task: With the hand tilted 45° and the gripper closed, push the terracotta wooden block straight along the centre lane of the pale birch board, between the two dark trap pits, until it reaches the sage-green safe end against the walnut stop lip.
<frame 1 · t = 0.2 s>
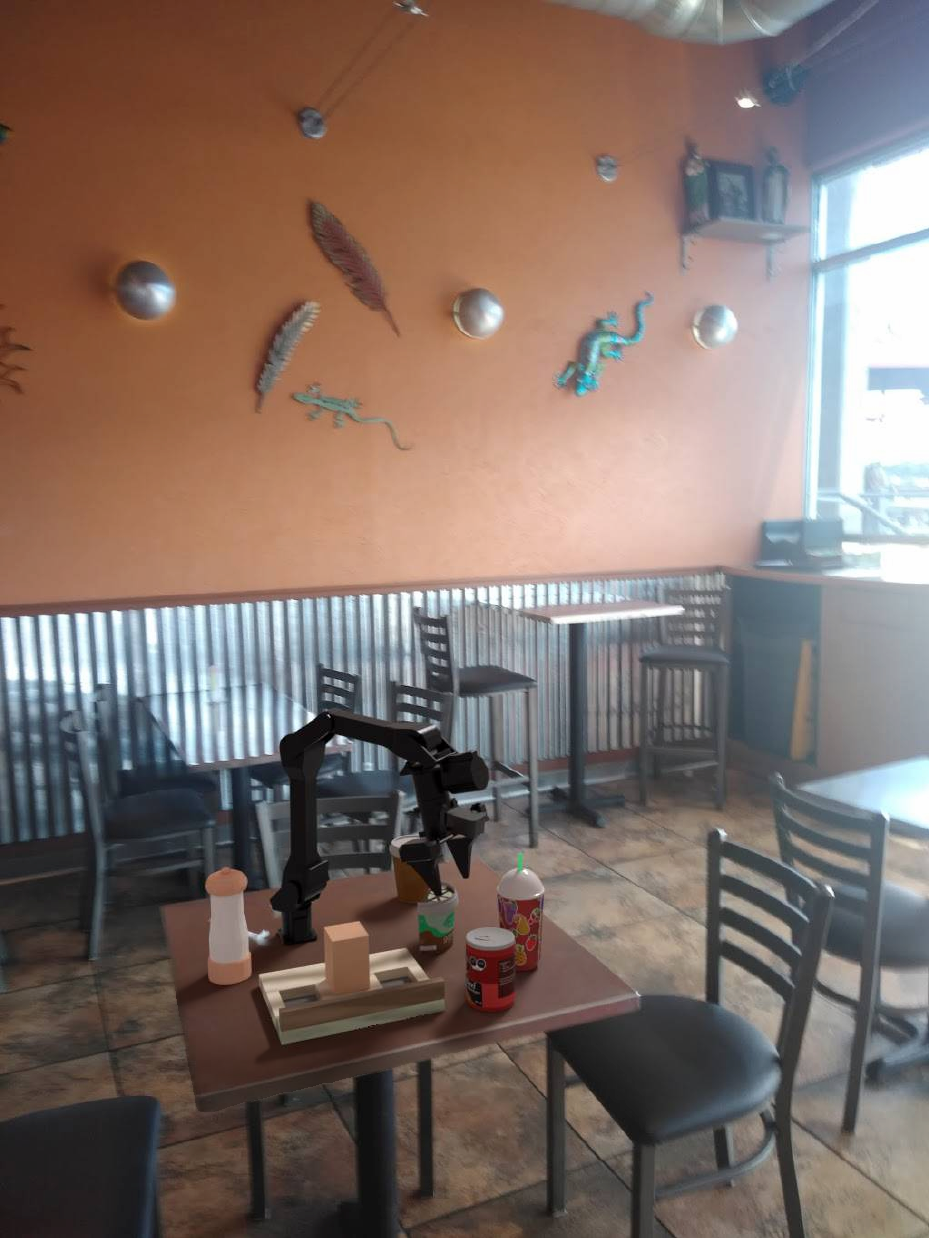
hand: (453, 886, 166), 16 cm above the table, tool pointing down, fingers open, 9 cm apart
smoothie: (521, 965, 171), on the table
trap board: (349, 997, 160), on the table
salt shaker: (230, 976, 168), on the table
disposable coffee cup: (413, 898, 201), on the table
food container: (442, 945, 179), on the table
block: (347, 983, 160), point 2 cm above the table, touching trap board
canned food: (491, 1002, 158), on the table
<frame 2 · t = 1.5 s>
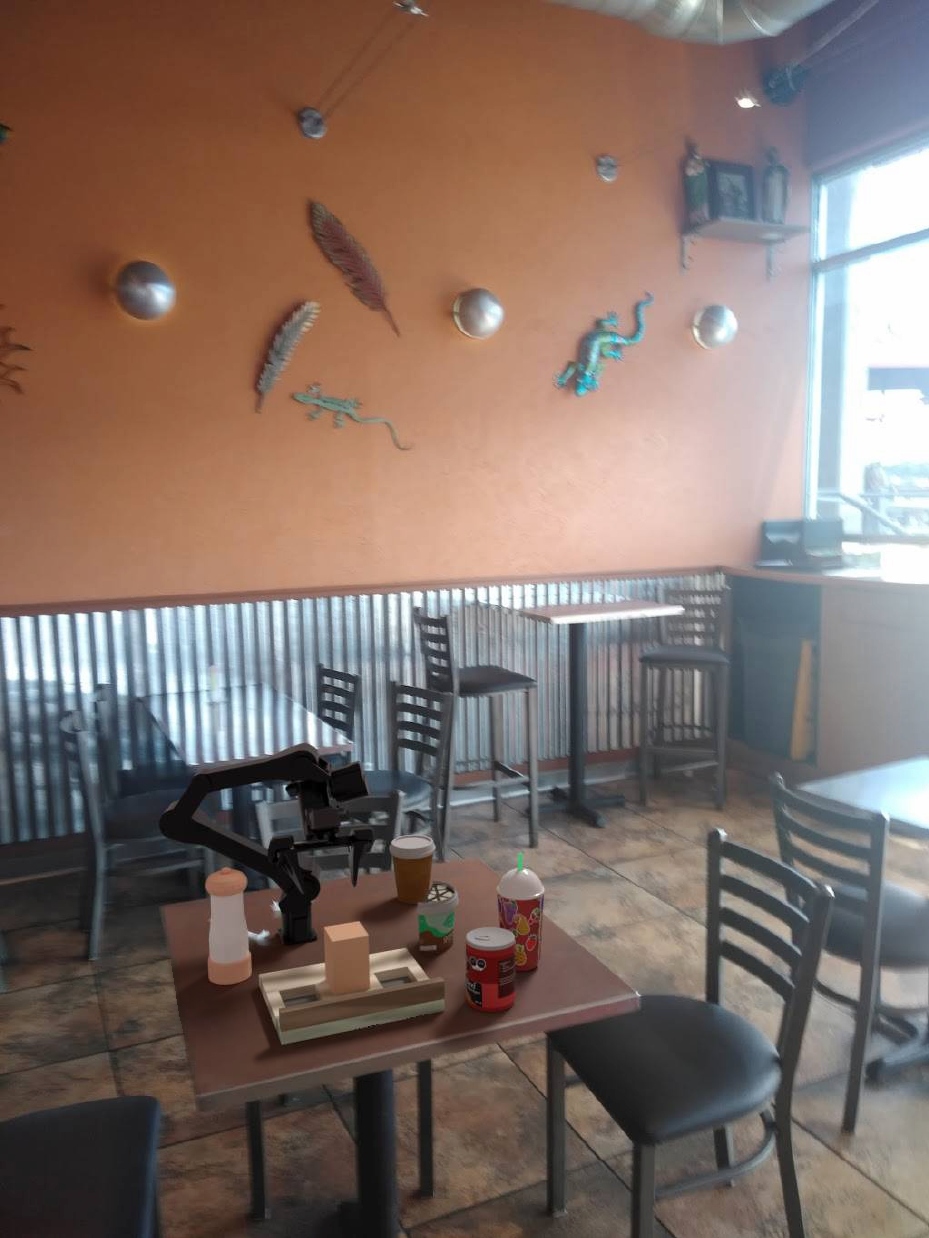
hand: (329, 889, 170), 14 cm above the table, tool tilted 45°, fingers open, 9 cm apart
nothing on the table moved.
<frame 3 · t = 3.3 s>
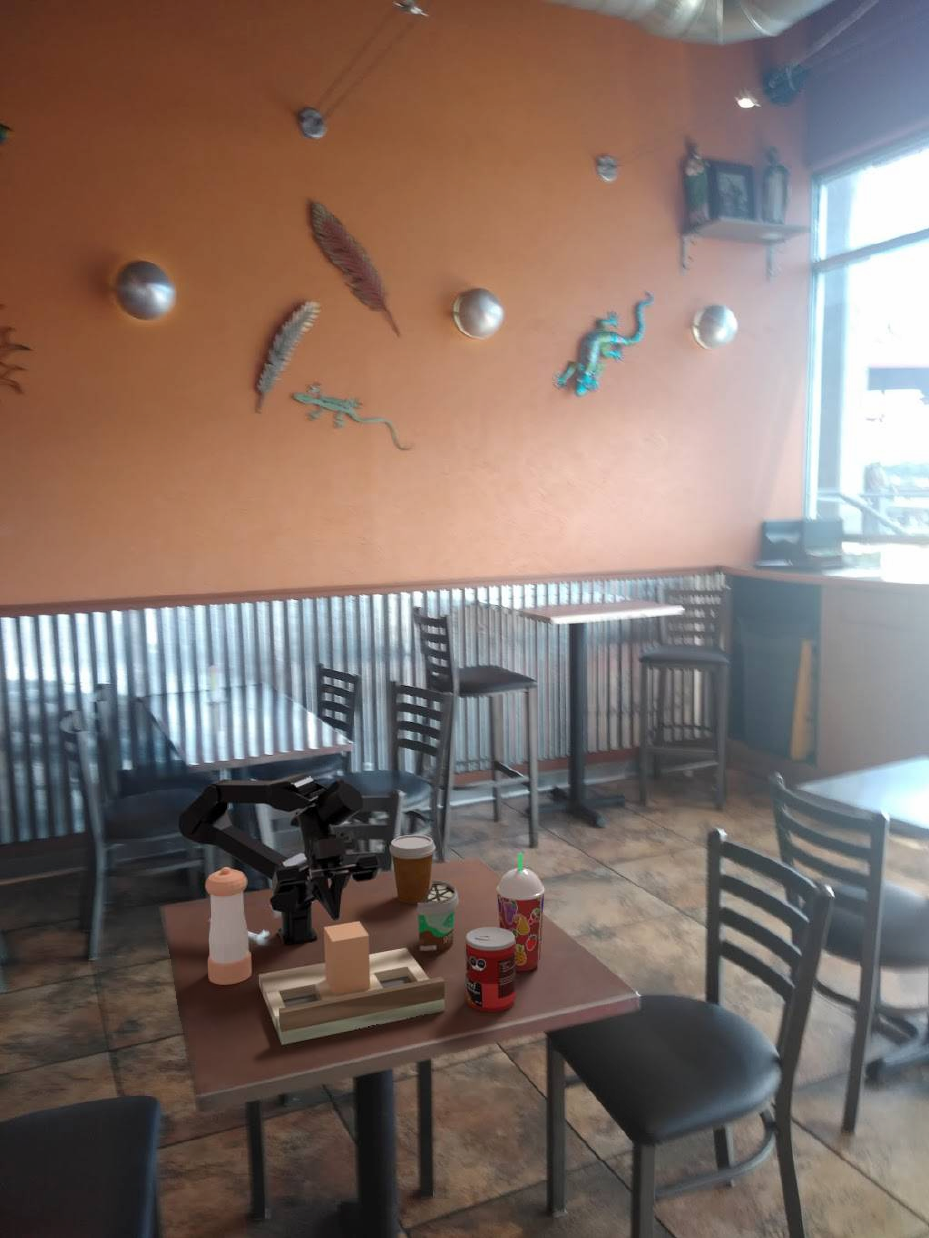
hand: (336, 919, 169), 9 cm above the table, tool tilted 45°, fingers closed
nothing on the table moved.
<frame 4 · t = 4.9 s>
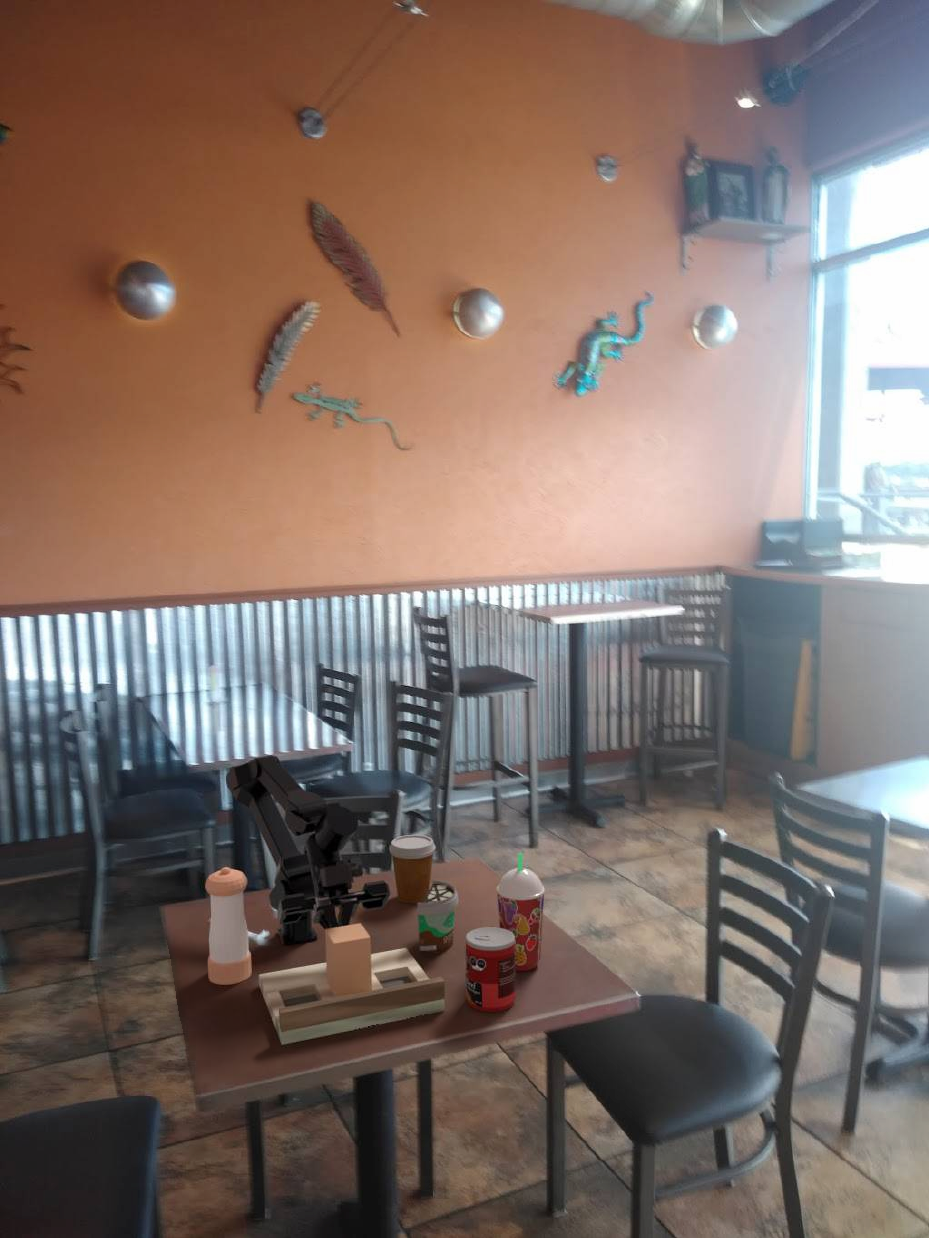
hand: (344, 949, 162), 7 cm above the table, tool tilted 45°, fingers closed, pressing on block
block: (349, 985, 160), point 2 cm above the table, touching gripper
everything else where it was.
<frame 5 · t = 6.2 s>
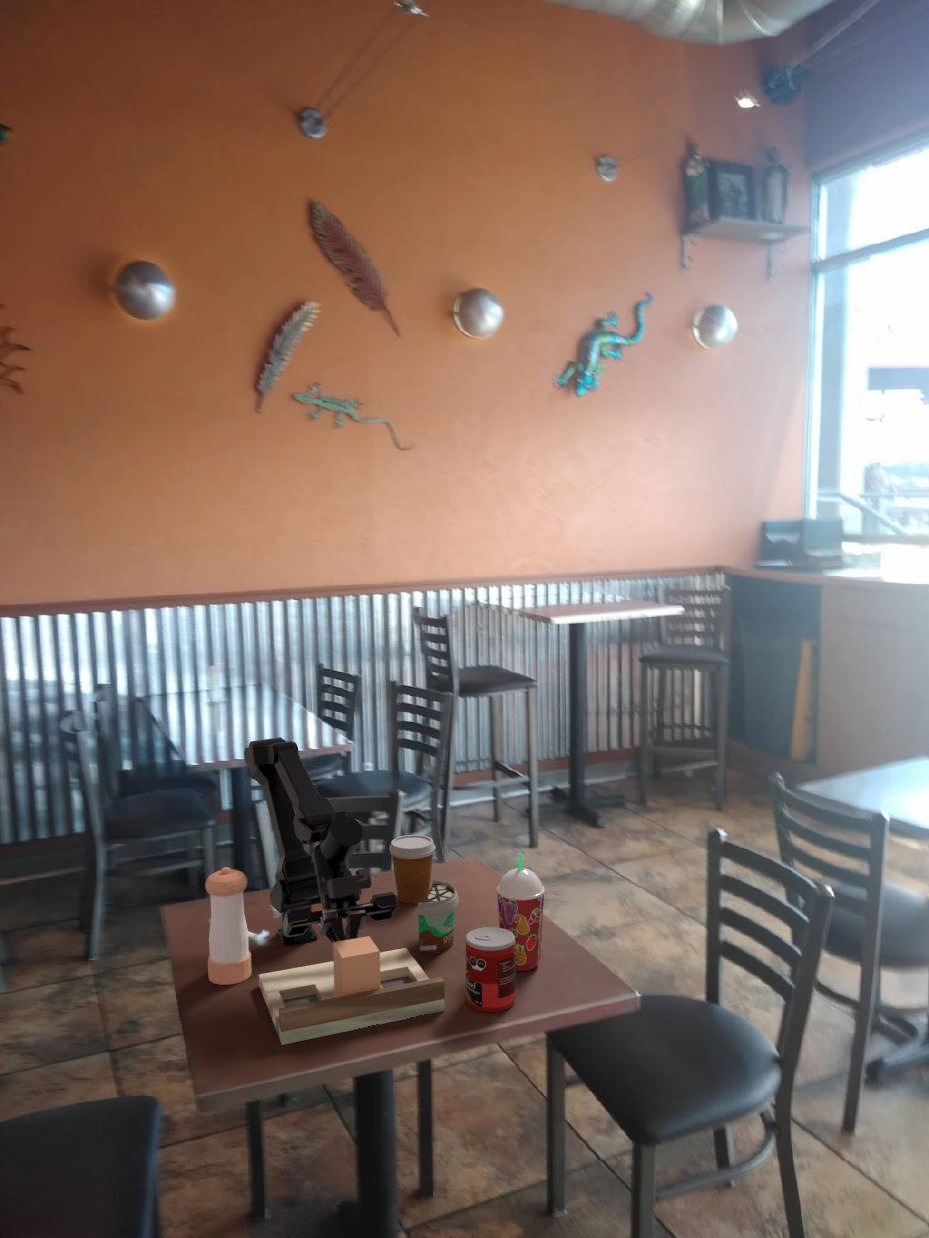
hand: (351, 963, 157), 7 cm above the table, tool tilted 45°, fingers closed, pressing on block
block: (357, 1000, 155), point 2 cm above the table, touching gripper, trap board
everything else where it was.
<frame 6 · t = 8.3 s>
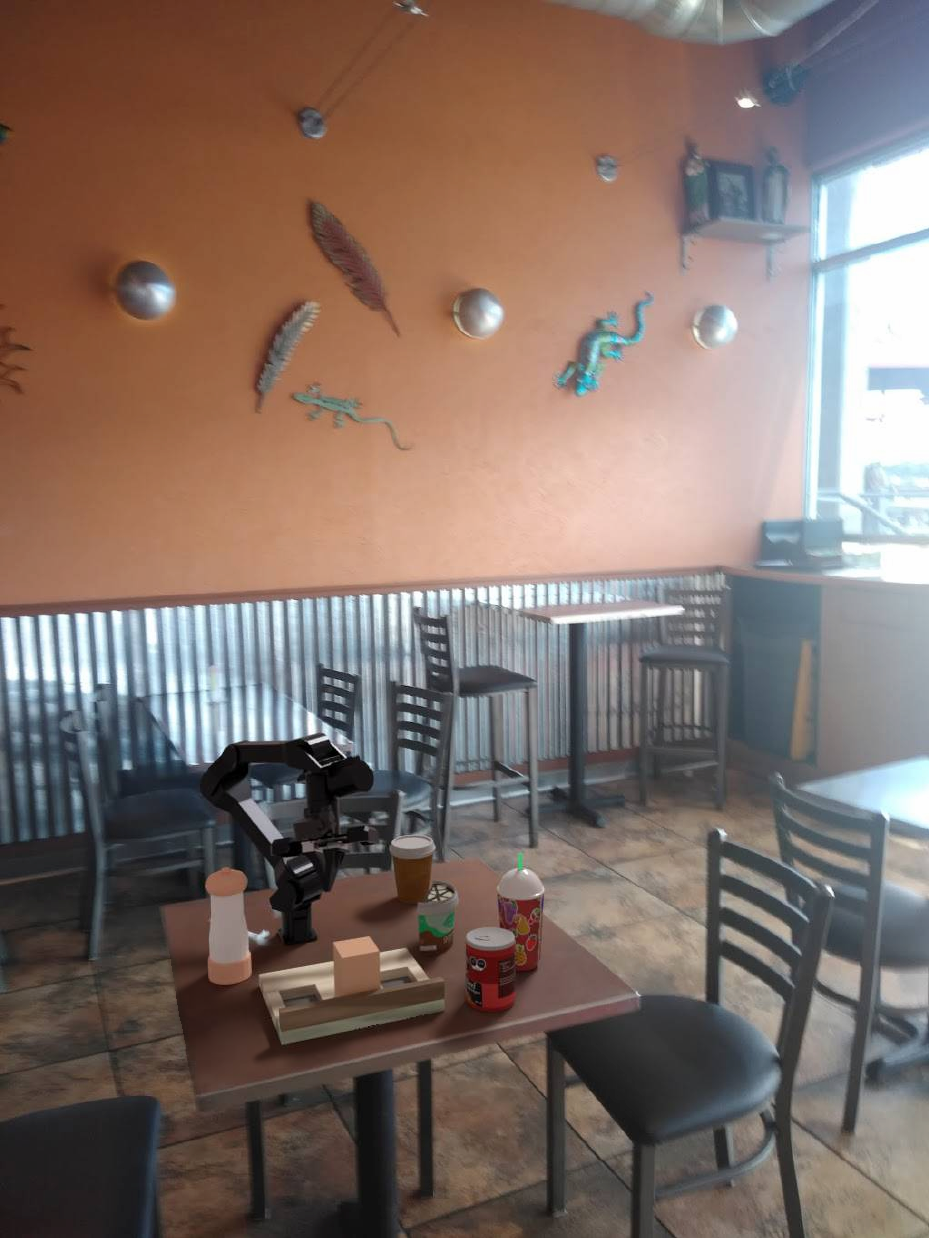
hand: (327, 891, 170), 13 cm above the table, tool tilted 25°, fingers closed
block: (357, 1001, 155), point 2 cm above the table, touching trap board
everything else where it was.
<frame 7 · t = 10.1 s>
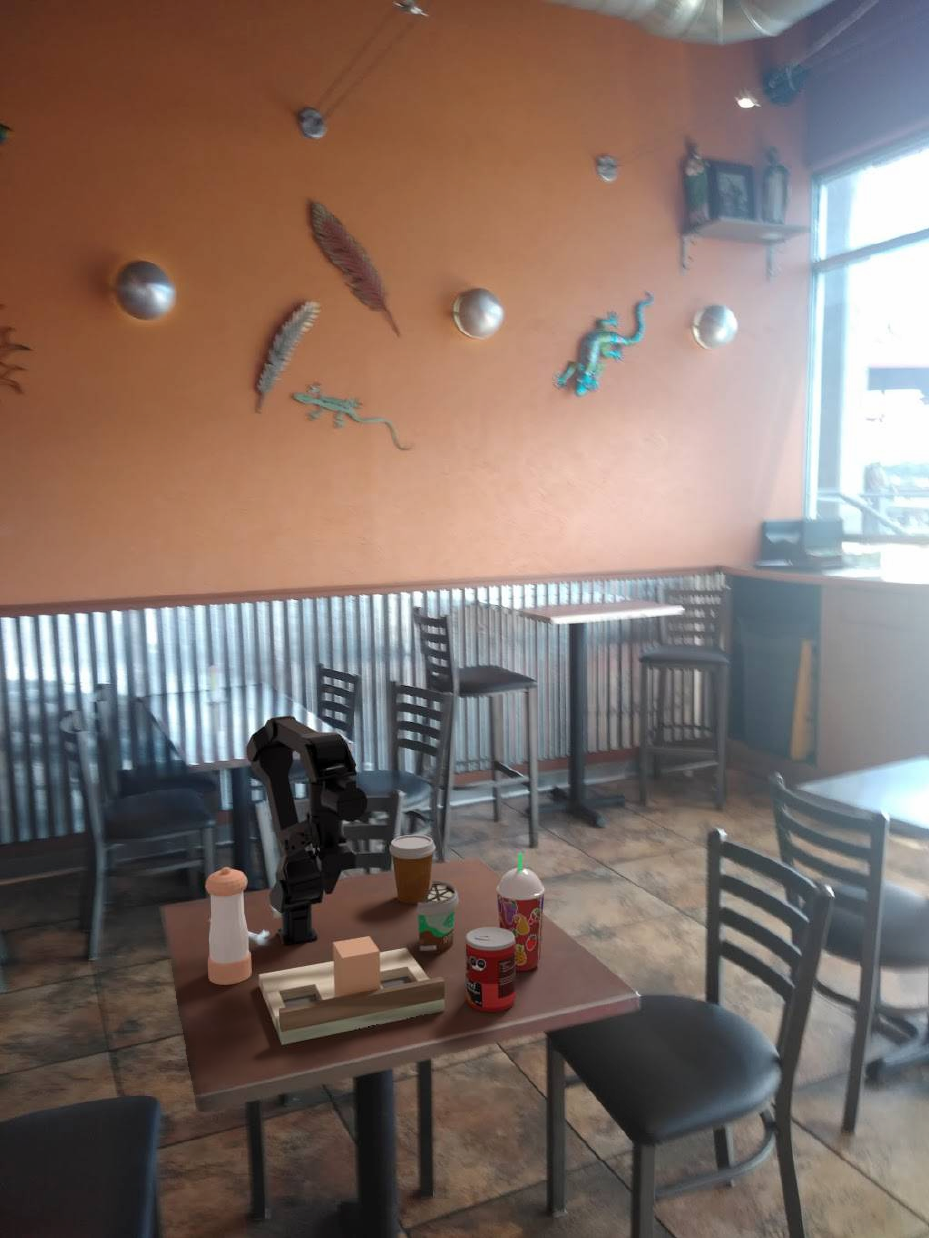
hand: (328, 893, 170), 13 cm above the table, tool pointing down, fingers closed
nothing on the table moved.
at the end: block 0.2 cm from the target spot, point 2.0 cm above the table; block tilted 0°; block moved 6.3 cm from its start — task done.
